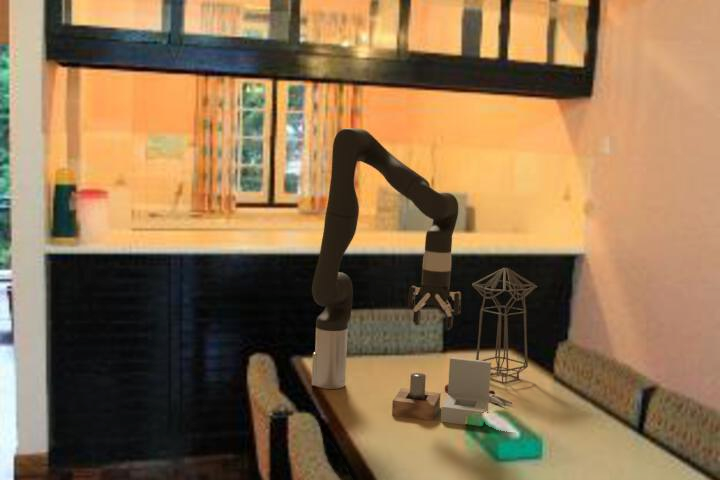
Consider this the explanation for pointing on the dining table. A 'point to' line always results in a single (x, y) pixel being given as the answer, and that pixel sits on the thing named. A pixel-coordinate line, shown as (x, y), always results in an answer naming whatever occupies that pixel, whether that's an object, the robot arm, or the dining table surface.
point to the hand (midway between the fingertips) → (432, 327)
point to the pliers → (492, 398)
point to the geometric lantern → (493, 285)
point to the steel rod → (417, 386)
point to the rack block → (466, 389)
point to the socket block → (416, 405)
